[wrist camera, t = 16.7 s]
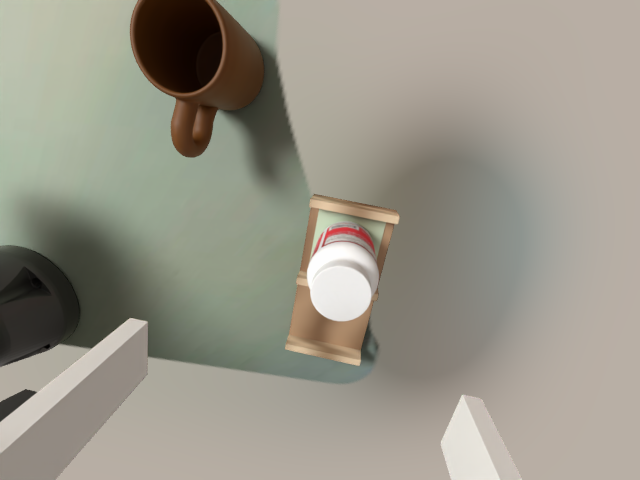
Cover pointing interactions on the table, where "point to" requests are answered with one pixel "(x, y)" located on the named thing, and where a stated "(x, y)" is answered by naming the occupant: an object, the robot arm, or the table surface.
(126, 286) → the table surface
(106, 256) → the table surface
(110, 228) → the table surface
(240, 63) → the mug
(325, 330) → the notch board
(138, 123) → the table surface
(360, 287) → the pill bottle
